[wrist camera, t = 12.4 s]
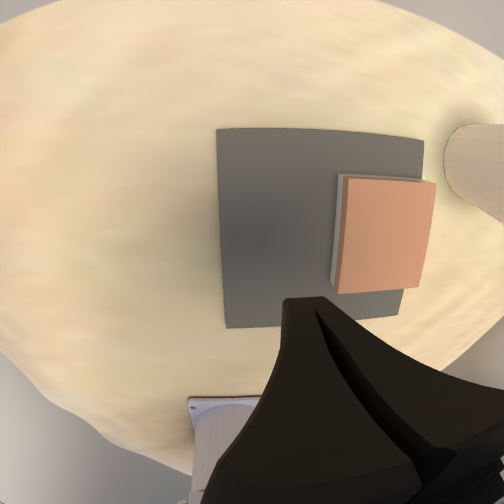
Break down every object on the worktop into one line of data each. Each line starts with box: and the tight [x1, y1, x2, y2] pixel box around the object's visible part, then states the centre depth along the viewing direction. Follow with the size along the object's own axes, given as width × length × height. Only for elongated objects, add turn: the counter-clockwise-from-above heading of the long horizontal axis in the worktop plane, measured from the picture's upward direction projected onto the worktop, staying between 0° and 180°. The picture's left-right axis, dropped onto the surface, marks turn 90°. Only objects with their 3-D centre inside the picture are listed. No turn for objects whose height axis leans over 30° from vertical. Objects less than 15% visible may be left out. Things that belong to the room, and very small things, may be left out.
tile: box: [330, 174, 436, 294], centre depth 18 cm, size 7×2×6 cm
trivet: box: [217, 128, 424, 328], centre depth 19 cm, size 13×13×1 cm
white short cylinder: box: [443, 124, 504, 224], centre depth 14 cm, size 7×7×7 cm
